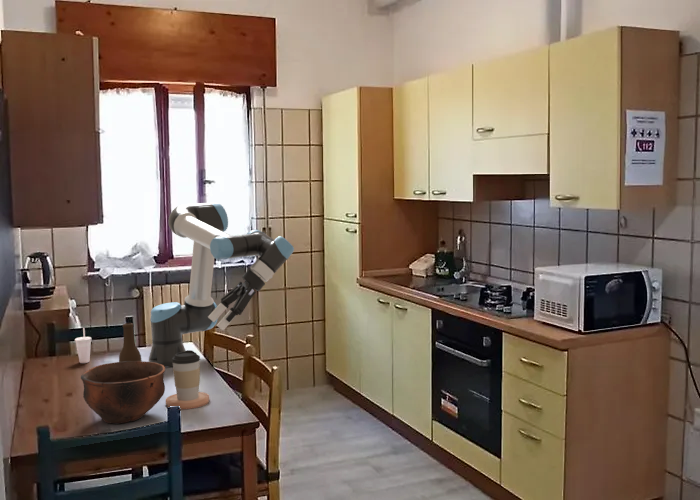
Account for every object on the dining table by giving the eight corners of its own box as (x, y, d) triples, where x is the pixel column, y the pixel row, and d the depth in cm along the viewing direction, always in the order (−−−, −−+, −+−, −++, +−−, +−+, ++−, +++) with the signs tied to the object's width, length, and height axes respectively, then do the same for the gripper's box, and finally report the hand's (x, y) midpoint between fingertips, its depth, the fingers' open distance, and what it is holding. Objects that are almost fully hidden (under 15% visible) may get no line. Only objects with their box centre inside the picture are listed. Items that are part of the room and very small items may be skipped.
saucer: (167, 397, 247) (167, 393, 246) (210, 394, 249) (210, 390, 249) (163, 410, 233) (163, 406, 233) (208, 407, 235) (208, 403, 235)
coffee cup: (195, 402, 236) (193, 356, 234) (169, 401, 238) (166, 356, 236) (206, 393, 245) (204, 349, 243) (180, 392, 246) (178, 349, 245)
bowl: (160, 429, 216) (157, 379, 214) (73, 434, 214) (70, 383, 212) (173, 403, 240) (171, 358, 239) (96, 407, 239) (93, 361, 237)
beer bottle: (136, 386, 260) (132, 320, 257) (147, 391, 254) (144, 323, 252) (116, 392, 255) (112, 323, 252) (127, 396, 249) (122, 327, 246)
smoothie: (89, 363, 294) (87, 329, 292) (73, 364, 294) (71, 329, 292) (95, 359, 300) (93, 326, 299) (79, 360, 300) (77, 326, 299)
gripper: (276, 288, 238) (232, 339, 234) (255, 277, 261) (215, 323, 257) (259, 273, 235) (215, 324, 231) (240, 263, 258) (199, 309, 254)
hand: (215, 323), depth 244 cm, fingers open, 13 cm apart
